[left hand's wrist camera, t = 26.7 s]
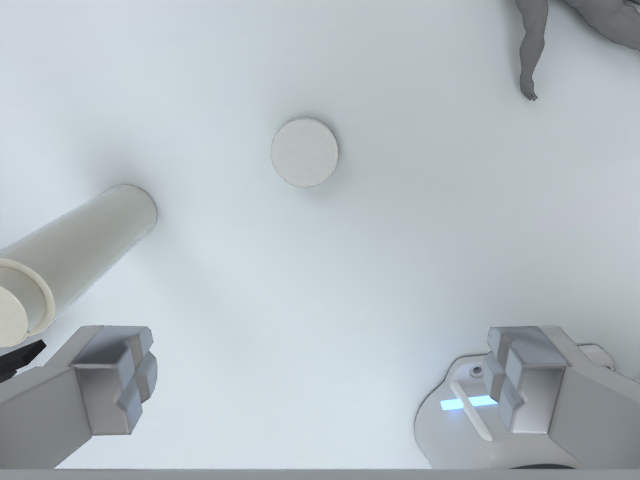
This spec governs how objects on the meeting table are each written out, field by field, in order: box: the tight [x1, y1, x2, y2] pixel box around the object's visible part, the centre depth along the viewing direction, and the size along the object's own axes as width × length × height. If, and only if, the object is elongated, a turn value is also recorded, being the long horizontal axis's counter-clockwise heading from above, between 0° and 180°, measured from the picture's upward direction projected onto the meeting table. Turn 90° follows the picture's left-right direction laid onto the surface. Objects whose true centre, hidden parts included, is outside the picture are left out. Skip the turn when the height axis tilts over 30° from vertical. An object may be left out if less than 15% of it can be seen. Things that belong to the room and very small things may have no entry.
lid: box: [271, 117, 338, 187], centre depth 37 cm, size 6×6×2 cm
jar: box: [0, 185, 157, 348], centre depth 31 cm, size 5×5×18 cm
